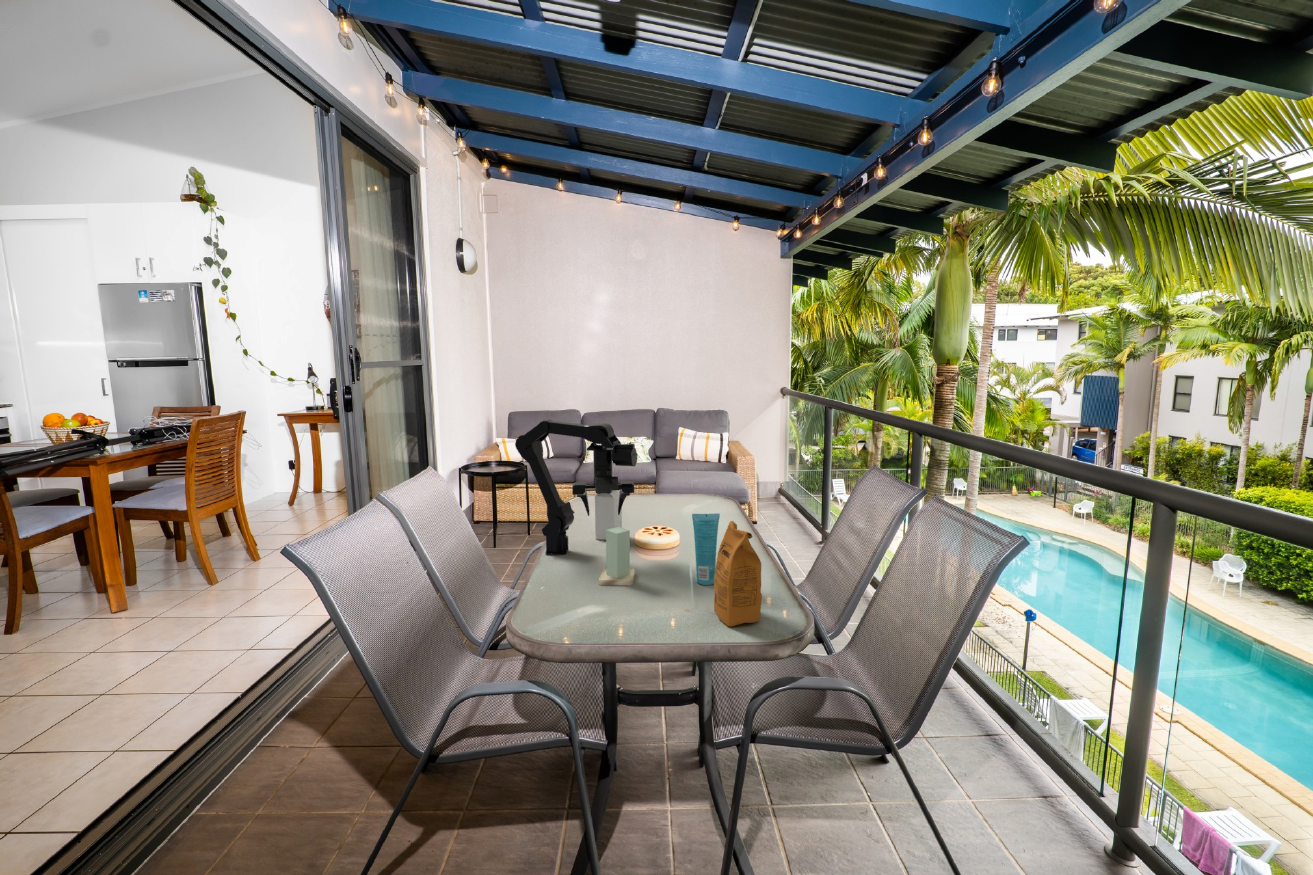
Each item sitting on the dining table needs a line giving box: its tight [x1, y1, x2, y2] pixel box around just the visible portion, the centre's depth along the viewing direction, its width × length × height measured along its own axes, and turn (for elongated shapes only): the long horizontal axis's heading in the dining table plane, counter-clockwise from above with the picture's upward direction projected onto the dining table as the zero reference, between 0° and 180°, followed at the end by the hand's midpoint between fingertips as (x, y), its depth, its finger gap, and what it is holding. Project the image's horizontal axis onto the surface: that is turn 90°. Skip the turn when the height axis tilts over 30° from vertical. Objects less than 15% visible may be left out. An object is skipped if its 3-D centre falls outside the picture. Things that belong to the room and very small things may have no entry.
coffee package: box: [713, 520, 763, 627], centre depth 141 cm, size 10×12×22 cm
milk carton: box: [594, 490, 623, 541], centre depth 207 cm, size 7×7×19 cm
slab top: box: [598, 568, 636, 586], centre depth 165 cm, size 9×9×2 cm
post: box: [605, 527, 631, 579], centre depth 164 cm, size 4×4×12 cm
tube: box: [691, 512, 720, 586], centre depth 164 cm, size 7×5×19 cm, turn 100°
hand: (603, 515), depth 186 cm, fingers open, 9 cm apart
